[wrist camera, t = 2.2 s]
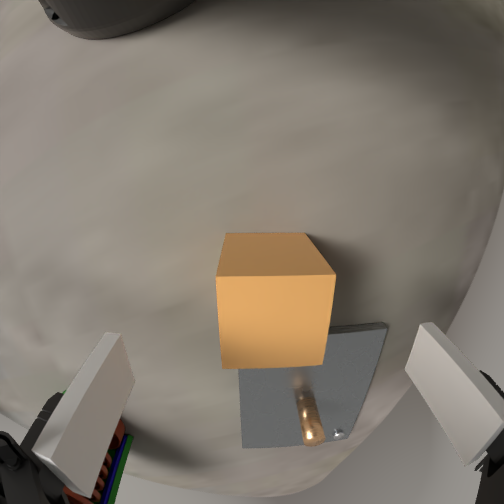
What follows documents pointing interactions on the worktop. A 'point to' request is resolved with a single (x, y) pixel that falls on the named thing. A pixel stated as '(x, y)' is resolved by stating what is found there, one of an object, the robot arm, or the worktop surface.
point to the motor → (107, 471)
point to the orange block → (273, 301)
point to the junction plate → (311, 392)
